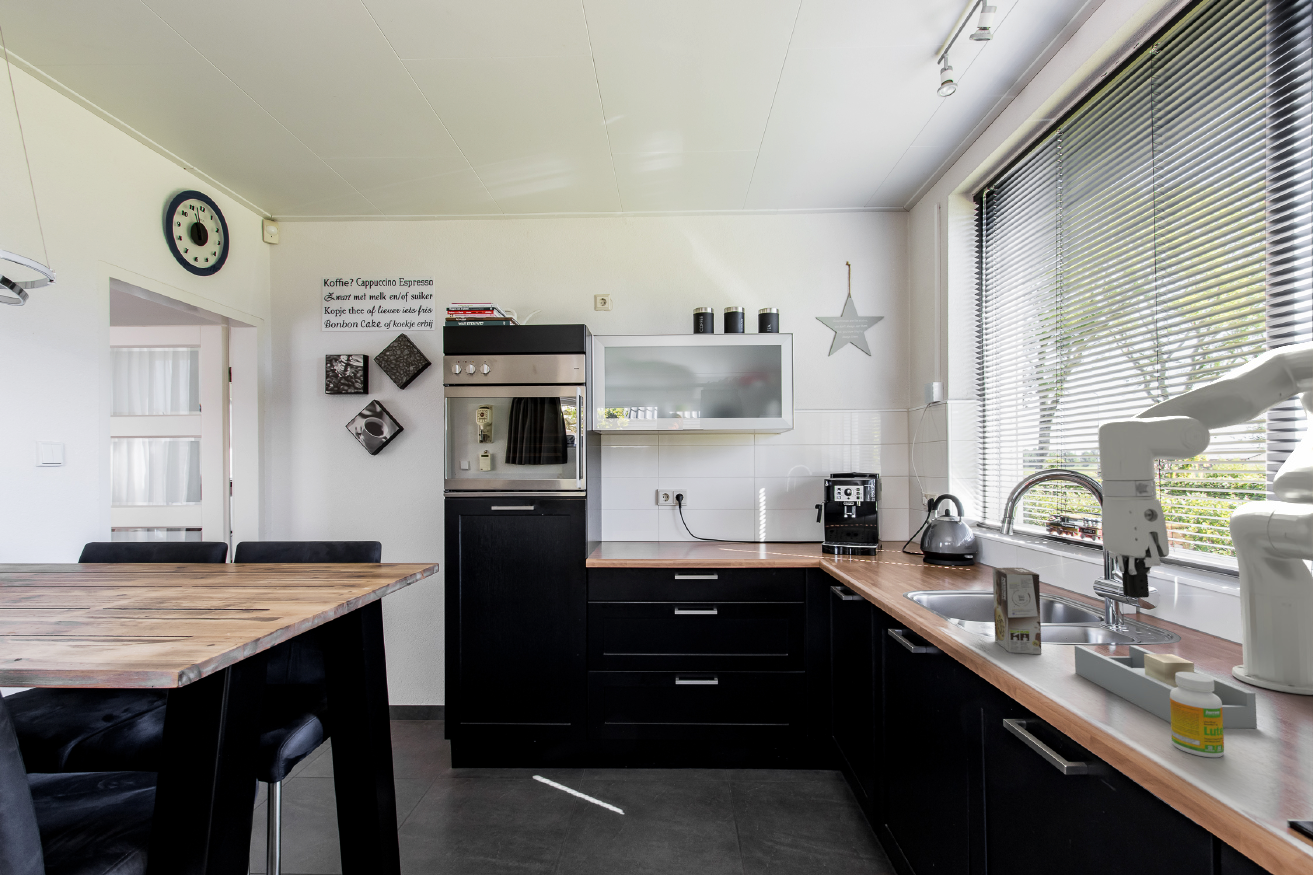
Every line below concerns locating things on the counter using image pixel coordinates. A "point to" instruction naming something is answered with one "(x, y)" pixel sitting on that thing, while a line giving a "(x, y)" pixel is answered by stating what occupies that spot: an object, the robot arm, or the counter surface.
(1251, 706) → the box
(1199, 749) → the supplement bottle
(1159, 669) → the block
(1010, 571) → the coffee box
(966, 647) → the counter surface
